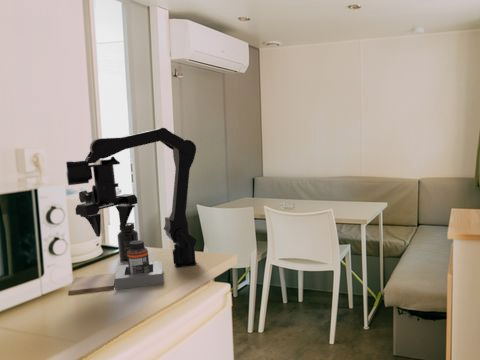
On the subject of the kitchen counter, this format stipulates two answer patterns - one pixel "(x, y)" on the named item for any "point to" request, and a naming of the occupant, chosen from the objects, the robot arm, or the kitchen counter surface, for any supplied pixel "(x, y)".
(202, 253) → the kitchen counter surface
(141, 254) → the supplement bottle
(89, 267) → the kitchen counter surface
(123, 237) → the supplement bottle
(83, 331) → the kitchen counter surface
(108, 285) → the walnut board
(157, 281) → the block
